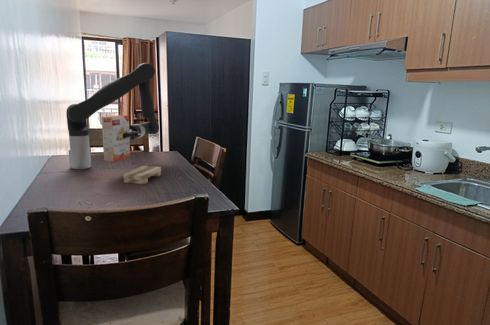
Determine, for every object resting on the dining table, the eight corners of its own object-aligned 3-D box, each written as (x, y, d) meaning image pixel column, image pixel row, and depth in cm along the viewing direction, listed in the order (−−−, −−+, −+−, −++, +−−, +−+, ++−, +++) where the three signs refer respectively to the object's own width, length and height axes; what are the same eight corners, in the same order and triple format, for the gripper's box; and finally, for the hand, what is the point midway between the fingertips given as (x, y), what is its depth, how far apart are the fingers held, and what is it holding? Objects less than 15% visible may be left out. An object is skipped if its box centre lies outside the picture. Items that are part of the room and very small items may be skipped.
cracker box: (115, 162, 150) (112, 117, 146) (103, 161, 151) (100, 116, 147) (131, 156, 164) (129, 115, 159) (120, 156, 165) (118, 114, 160)
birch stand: (123, 182, 147) (123, 174, 146) (142, 173, 164) (142, 165, 163) (144, 184, 145) (143, 175, 144) (161, 174, 163) (161, 167, 162)
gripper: (122, 123, 172) (103, 126, 156) (147, 125, 170) (130, 128, 153) (122, 137, 174) (104, 142, 157) (147, 139, 171) (131, 144, 155)
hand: (117, 135), depth 155 cm, fingers closed on cracker box, 6 cm apart
